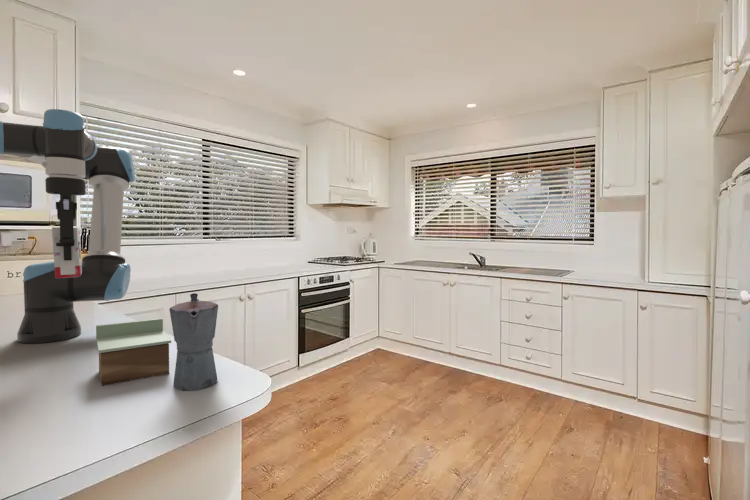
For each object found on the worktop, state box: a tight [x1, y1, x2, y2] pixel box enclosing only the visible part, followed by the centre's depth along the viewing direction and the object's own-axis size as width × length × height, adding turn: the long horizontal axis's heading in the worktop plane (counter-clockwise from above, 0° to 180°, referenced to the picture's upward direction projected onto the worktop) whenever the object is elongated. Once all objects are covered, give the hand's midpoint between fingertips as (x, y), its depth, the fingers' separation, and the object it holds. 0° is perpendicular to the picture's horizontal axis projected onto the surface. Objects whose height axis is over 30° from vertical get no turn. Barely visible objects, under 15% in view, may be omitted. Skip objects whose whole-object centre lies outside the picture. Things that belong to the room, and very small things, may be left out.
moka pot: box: [169, 292, 219, 392], centre depth 87 cm, size 10×15×20 cm, turn 28°
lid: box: [95, 318, 172, 354], centre depth 93 cm, size 12×14×4 cm
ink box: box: [51, 226, 82, 278], centre depth 96 cm, size 9×5×12 cm, turn 33°
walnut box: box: [98, 343, 170, 387], centre depth 93 cm, size 11×13×7 cm
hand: (68, 272), depth 96 cm, fingers closed on ink box, 9 cm apart
